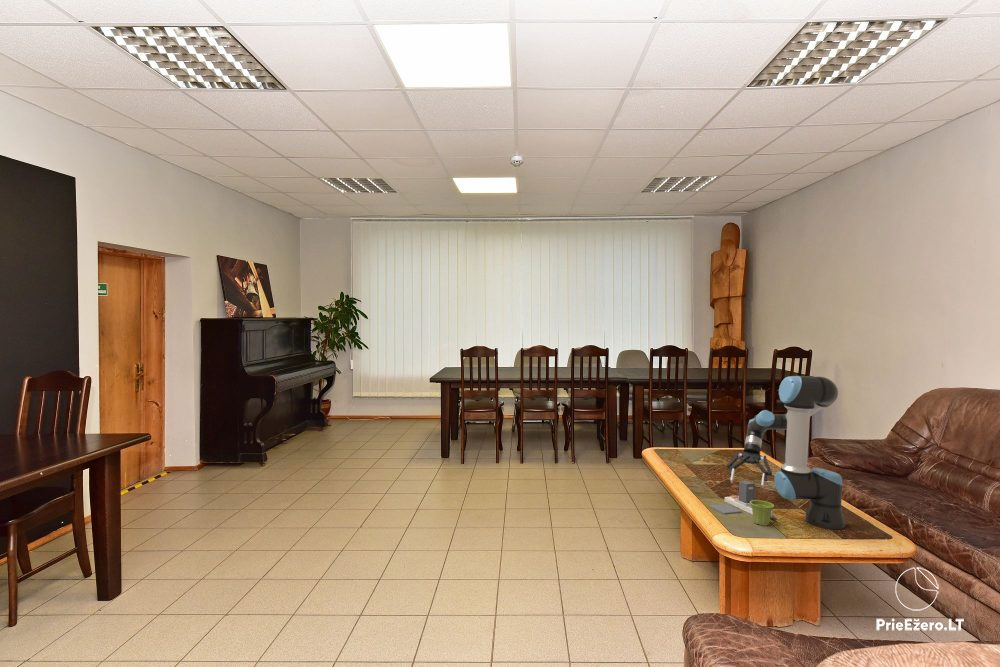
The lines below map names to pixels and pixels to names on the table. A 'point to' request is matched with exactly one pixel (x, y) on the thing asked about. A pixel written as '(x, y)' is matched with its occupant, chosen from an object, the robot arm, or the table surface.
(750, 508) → the white slab
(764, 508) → the plant pot
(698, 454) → the table surface
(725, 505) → the pad
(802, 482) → the robot arm
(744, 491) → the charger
